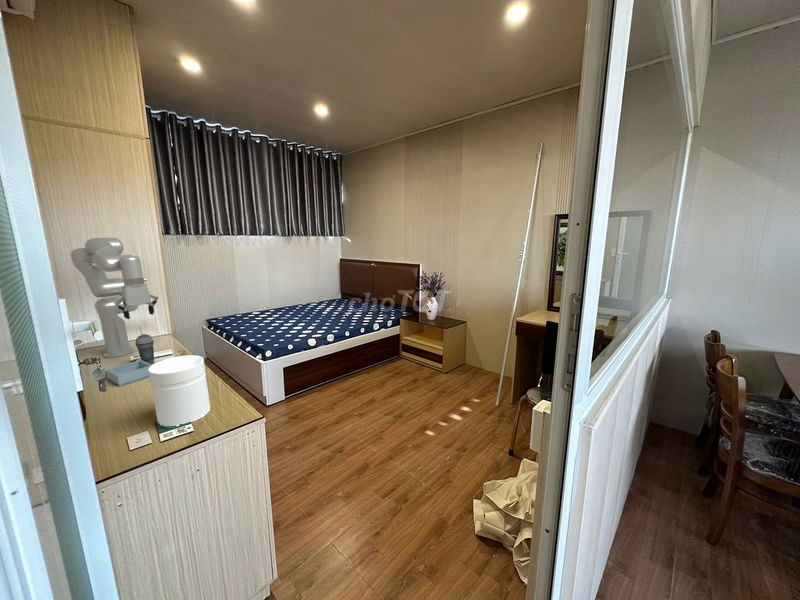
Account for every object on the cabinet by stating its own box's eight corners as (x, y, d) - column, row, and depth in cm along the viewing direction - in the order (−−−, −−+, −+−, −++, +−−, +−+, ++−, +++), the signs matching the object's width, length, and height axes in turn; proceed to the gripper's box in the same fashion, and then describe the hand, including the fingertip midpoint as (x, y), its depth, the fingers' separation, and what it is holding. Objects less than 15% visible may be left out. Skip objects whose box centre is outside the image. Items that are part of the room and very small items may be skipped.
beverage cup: (149, 366, 158) (142, 328, 153) (135, 366, 158) (128, 328, 154) (161, 361, 165) (154, 324, 161) (147, 361, 165) (140, 324, 161)
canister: (153, 416, 115) (143, 364, 111) (202, 399, 126) (195, 351, 122) (163, 434, 104) (153, 378, 100) (217, 414, 116) (209, 363, 111)
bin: (108, 379, 144) (106, 369, 143) (142, 369, 155) (140, 359, 154) (119, 386, 137) (117, 376, 136) (154, 375, 148) (153, 365, 147)
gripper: (151, 279, 162) (156, 311, 165) (107, 283, 147) (114, 319, 151) (158, 280, 158) (163, 313, 161) (113, 285, 143) (120, 321, 147)
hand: (140, 316), depth 156 cm, fingers open, 9 cm apart
